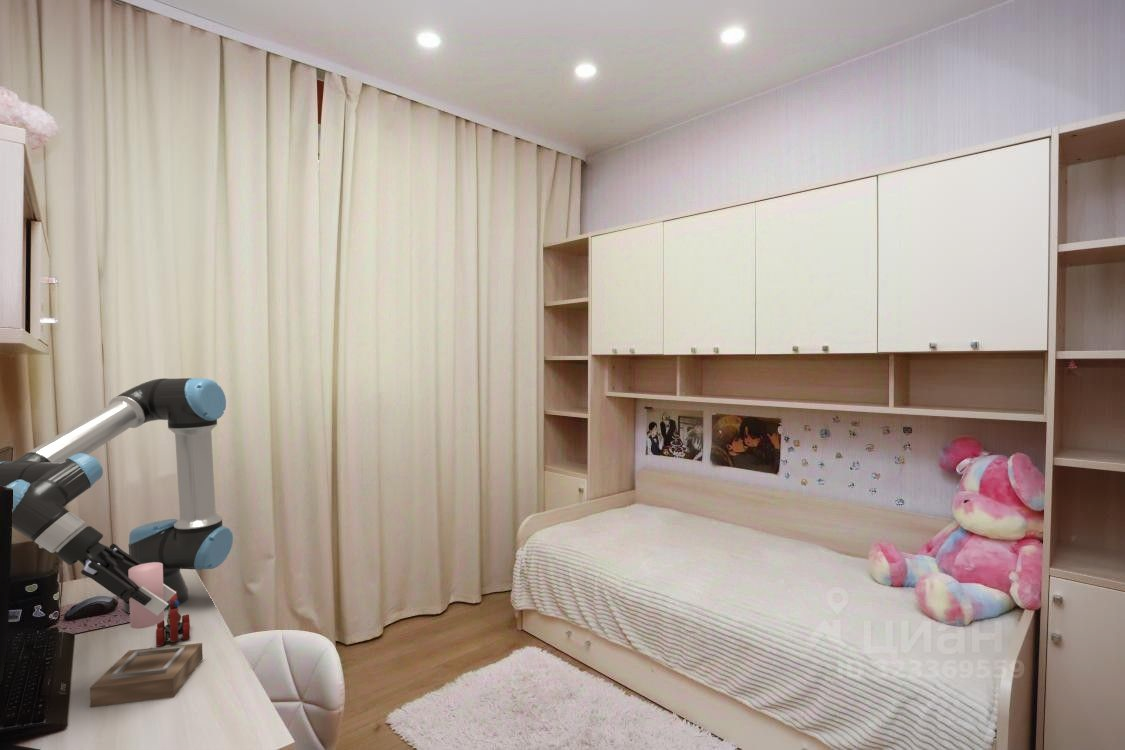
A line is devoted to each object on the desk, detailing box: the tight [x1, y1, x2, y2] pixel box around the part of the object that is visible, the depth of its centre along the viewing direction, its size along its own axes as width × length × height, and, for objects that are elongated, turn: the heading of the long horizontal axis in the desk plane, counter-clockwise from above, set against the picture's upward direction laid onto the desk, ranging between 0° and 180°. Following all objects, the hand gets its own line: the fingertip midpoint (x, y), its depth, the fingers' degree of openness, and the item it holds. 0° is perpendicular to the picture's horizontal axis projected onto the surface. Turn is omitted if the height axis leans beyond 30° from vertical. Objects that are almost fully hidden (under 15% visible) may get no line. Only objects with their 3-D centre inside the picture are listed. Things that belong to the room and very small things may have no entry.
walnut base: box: [89, 642, 204, 708], centre depth 125 cm, size 15×15×5 cm
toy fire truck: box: [155, 590, 191, 647], centre depth 144 cm, size 7×12×10 cm, turn 34°
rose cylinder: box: [128, 562, 165, 629], centre depth 124 cm, size 6×6×12 cm
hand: (167, 603), depth 126 cm, fingers closed on rose cylinder, 6 cm apart
